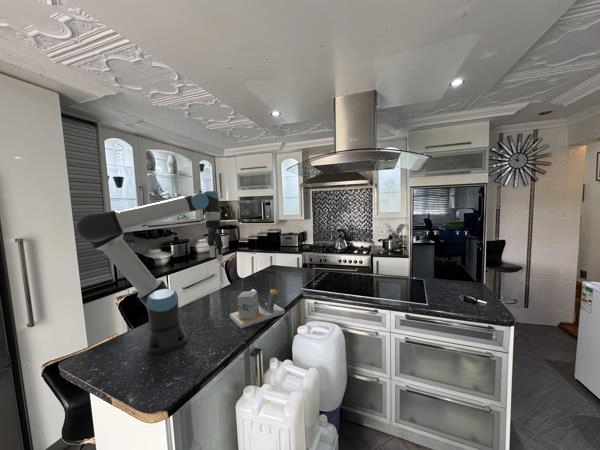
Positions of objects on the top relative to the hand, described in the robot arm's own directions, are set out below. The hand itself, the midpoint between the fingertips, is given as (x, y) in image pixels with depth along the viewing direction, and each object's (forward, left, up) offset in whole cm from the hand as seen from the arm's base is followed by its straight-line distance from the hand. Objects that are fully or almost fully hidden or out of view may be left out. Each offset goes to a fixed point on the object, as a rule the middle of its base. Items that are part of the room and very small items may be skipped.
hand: (216, 258), depth 134 cm
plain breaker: (+21, -9, -28) cm, 37 cm away
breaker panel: (+15, -14, -32) cm, 38 cm away
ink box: (+10, -16, -30) cm, 35 cm away
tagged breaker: (+21, -18, -28) cm, 40 cm away
